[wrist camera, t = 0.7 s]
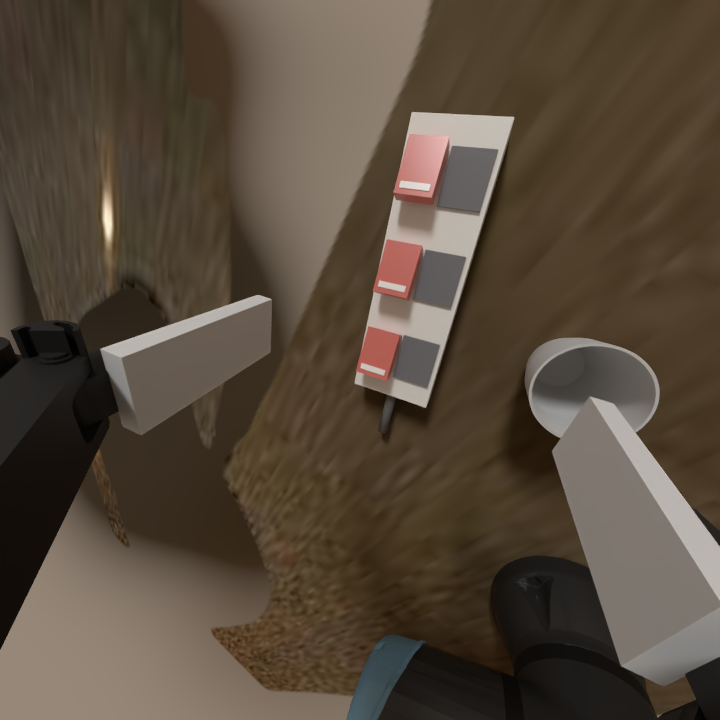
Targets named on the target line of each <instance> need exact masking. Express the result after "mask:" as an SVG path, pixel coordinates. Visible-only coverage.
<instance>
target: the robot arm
mask: <svg viewBox="0 0 720 720" xmlns="http://www.w3.org/2000/svg"><path fill="white" fill-rule="evenodd" d="M271 312H272V299H269V298H266V297H263V296H260V295H256V296H253V297H250V298H247V299H244V300H242V301H238V302H236V303H233V304H230V305H227V306H224V307H221V308H218V309H215V310H212V311H209V312H206V313H203V314H201V315H198V316H195V317H192V318H189V319H186V320H183V321H180V322H177V323H174V324H171V325H169V326H166V327H163V328H160V329H157V330H154V331H151V332H148V333H145V334H142V335H140V336H137V337H134V338H131V339H128V340H125V341H122V342H119V343H116V344H113V345H111V346H108V347H104V348H102V349H100V350H97V351H94V352H91V353H88V352H87V349H86V346H85V342H84V340H83V336H82V333H81V330H80V327H79V326H78V325H77V324H76V323H72V322H69V321H58V320H56V321H41V322H34V323H29V324H25V325H22V326H18V327H17V328H14V329H12V330H11V332H12V335H13V337H14V339H15V341H16V343H17V346H18V348H19V350H20V353H21V355H17V354H15V353H14V350H13V348H12V346H11V344H10V341H9V340H7V339H6V338H3V337H0V649H1V647H2V645H3V643H4V641H5V639H6V637H7V635H8V633H9V631H10V629H11V627H12V625H13V623H14V621H15V619H16V616H17V615H18V612H19V610H20V608H21V606H22V604H23V602H24V600H25V598H26V596H27V594H28V592H29V590H30V588H31V586H32V584H33V582H34V579H35V578H36V576H37V574H38V571H39V569H40V567H41V565H42V563H43V561H44V559H45V557H46V555H47V553H48V551H49V549H50V547H51V545H52V543H53V541H54V539H55V537H56V535H57V533H58V531H59V528H60V527H61V525H62V522H63V520H64V518H65V516H66V514H67V512H68V510H69V508H70V506H71V504H72V502H73V500H74V498H75V496H76V494H77V492H78V489H79V488H80V486H81V484H82V482H83V480H84V478H85V476H86V473H87V471H88V469H89V467H90V465H91V463H92V461H93V459H94V457H95V455H96V453H97V451H98V449H99V447H100V445H101V443H102V440H103V439H104V437H105V435H106V433H107V431H108V429H109V424H110V421H109V418H108V417H109V416H110V415H112V414H114V413H116V412H119V416H120V419H121V423H122V426H123V427H125V428H127V429H129V430H131V431H133V432H135V433H137V434H139V435H142V434H144V433H146V432H147V431H149V430H150V429H152V428H153V427H155V426H156V425H158V424H159V423H161V422H163V421H164V420H166V419H167V418H169V417H170V416H172V415H174V414H175V413H176V412H178V411H180V410H181V409H183V408H184V407H186V406H188V405H189V404H191V403H192V402H194V401H195V400H197V399H198V398H200V397H202V396H203V395H205V394H206V393H208V392H209V391H211V390H212V389H214V388H216V387H217V386H219V385H220V384H222V383H223V382H225V381H226V380H228V379H229V378H231V377H233V376H234V375H236V374H237V373H239V372H240V371H242V370H243V369H245V368H247V367H248V366H250V365H251V364H253V363H254V362H256V361H258V360H259V359H261V358H262V357H264V356H265V355H267V354H268V353H270V350H271ZM552 454H553V457H554V460H555V463H556V466H557V469H558V472H559V475H560V479H561V482H562V485H563V488H564V491H565V494H566V497H567V500H568V503H569V506H570V510H571V513H572V516H573V519H574V522H575V525H576V528H577V531H578V534H579V537H580V541H581V544H582V547H583V550H584V553H585V556H586V559H587V562H588V565H589V568H587V567H585V566H582V565H580V564H578V563H575V562H572V561H568V560H565V559H561V558H555V557H546V556H534V557H526V558H522V559H518V560H515V561H513V562H511V563H509V564H507V565H506V566H505V567H503V568H502V569H501V570H500V571H499V572H498V574H497V575H496V577H495V579H494V582H493V586H492V600H493V611H494V615H495V619H496V622H497V624H498V627H499V629H500V632H501V635H502V638H503V641H504V643H505V646H506V649H507V651H508V654H509V657H510V659H511V662H512V664H513V669H514V677H513V676H511V675H508V674H505V673H502V672H500V671H498V670H495V669H492V668H490V667H487V666H484V665H481V664H479V663H476V662H473V661H470V660H467V659H465V658H462V657H459V656H456V655H454V654H451V653H448V652H445V651H443V650H440V649H437V648H434V647H431V646H429V645H427V643H426V641H424V640H420V641H416V640H413V639H409V638H406V637H403V636H399V635H395V634H390V635H387V636H385V637H383V638H382V639H381V640H380V641H379V642H378V643H377V644H376V646H375V647H374V649H373V651H372V652H371V654H370V656H369V658H368V660H367V662H366V664H365V666H364V669H363V671H362V674H361V676H360V679H359V681H358V684H357V687H356V690H355V693H354V696H353V699H352V702H351V705H350V709H349V712H348V716H347V720H720V531H719V530H718V529H717V528H715V527H714V526H713V525H712V524H711V523H710V522H709V521H708V520H707V519H706V518H704V517H703V516H702V515H701V514H700V513H699V512H698V511H697V510H695V509H692V508H691V507H690V506H689V504H688V503H687V502H686V500H685V499H684V498H683V496H682V495H681V494H680V492H679V491H678V490H677V488H676V487H675V486H674V484H673V483H672V482H671V480H670V479H669V477H668V476H667V475H666V473H665V472H664V471H663V469H662V468H661V467H660V465H659V464H658V463H657V461H656V460H655V459H654V457H653V456H652V455H651V453H650V452H649V451H648V449H647V448H646V446H645V445H644V444H643V442H642V441H641V440H640V438H639V437H638V436H637V434H636V433H635V432H634V430H633V429H632V428H631V426H630V425H629V424H628V422H627V421H626V420H625V418H624V417H623V416H622V414H621V413H620V411H619V410H618V409H617V407H616V406H615V405H614V404H613V403H610V402H607V401H603V400H600V399H597V398H594V397H590V396H589V398H588V399H587V401H586V402H585V404H584V405H583V407H582V408H581V409H580V411H579V412H578V414H577V415H576V417H575V418H574V420H573V421H572V423H571V424H570V426H569V427H568V428H567V430H566V431H565V433H564V434H563V436H562V437H561V439H560V440H559V442H558V443H557V444H556V446H555V447H554V449H553V450H552ZM685 676H686V677H687V679H688V682H689V684H690V686H691V688H692V690H693V693H694V695H695V697H696V699H697V700H695V701H692V702H690V703H688V704H685V705H683V706H680V707H678V708H676V709H673V710H671V711H668V712H666V713H664V714H662V715H661V716H660V717H657V715H656V713H655V710H654V708H653V706H652V703H651V701H650V699H649V696H648V694H647V691H646V682H645V678H647V679H649V680H651V681H653V682H655V683H657V684H659V685H661V686H663V687H664V686H666V685H668V684H670V683H672V682H674V681H676V680H678V679H680V678H682V677H685Z"/></svg>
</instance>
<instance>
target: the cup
mask: <svg viewBox="0 0 720 720" xmlns="http://www.w3.org/2000/svg"><path fill="white" fill-rule="evenodd" d="M525 388H526V392H527V396H528V399H529V403H530V407H531V410H532V412H533V414H534V416H535V417H536V419H537V420H538V422H539V423H540V424H541V425H542V426H543V427H544V428H545V429H546V430H548V431H549V432H550V433H552V434H554V435H555V436H557V437H559V438H561V437H562V436H563V434H564V433H565V431H566V430H567V428H568V427H569V426H570V424H571V423H572V421H573V420H574V418H575V417H576V415H577V414H578V412H579V411H580V409H581V408H582V407H583V405H584V404H585V402H586V401H587V399H588V398H589V396H590V397H594V398H597V399H600V400H603V401H607V402H610V403H613V404H614V405H615V406H616V407H617V409H618V410H619V411H620V413H621V414H622V416H623V417H624V418H625V420H626V421H627V422H628V424H629V425H630V426H631V428H632V429H633V430H634V432H635V433H636V432H637V431H639V430H640V429H641V428H642V427H643V426H645V425H646V424H647V422H648V421H649V420H650V419H651V417H652V416H653V414H654V412H655V410H656V408H657V405H658V402H659V385H658V381H657V378H656V376H655V374H654V372H653V370H652V369H651V368H650V366H649V365H648V364H647V363H646V362H645V361H644V360H643V359H641V358H640V357H639V356H637V355H636V354H634V353H632V352H631V351H628V350H626V349H624V348H621V347H618V346H614V345H610V344H607V343H603V342H600V341H596V340H592V339H587V338H560V339H555V340H551V341H549V342H546V343H544V344H543V345H541V346H540V347H538V348H537V349H536V350H535V351H534V352H533V353H532V354H531V356H530V358H529V359H528V362H527V365H526V372H525Z"/></svg>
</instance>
